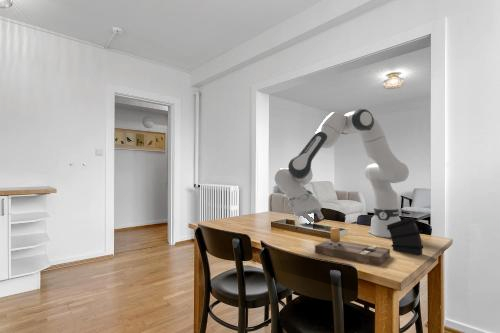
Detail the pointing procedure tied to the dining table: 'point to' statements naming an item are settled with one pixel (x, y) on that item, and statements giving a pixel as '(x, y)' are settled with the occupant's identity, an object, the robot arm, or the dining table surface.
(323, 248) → the board
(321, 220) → the pine cone
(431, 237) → the dining table surface
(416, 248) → the magazine
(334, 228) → the wooden block
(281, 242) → the dining table surface
